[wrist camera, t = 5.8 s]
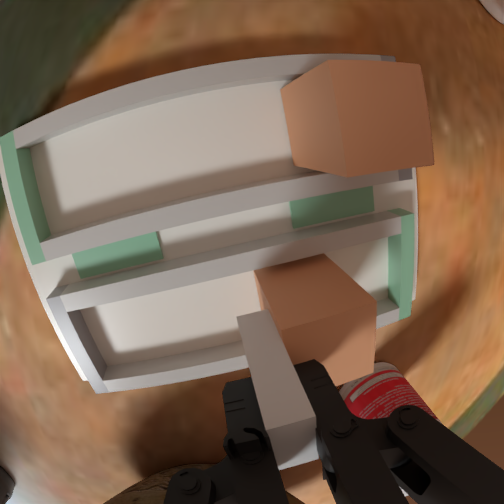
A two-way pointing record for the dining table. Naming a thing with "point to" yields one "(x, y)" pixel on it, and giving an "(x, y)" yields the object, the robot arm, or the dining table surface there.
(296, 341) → the tab
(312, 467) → the dining table surface
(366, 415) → the pill bottle
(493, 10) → the jar
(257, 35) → the dining table surface
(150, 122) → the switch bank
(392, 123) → the tab
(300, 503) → the bowl
